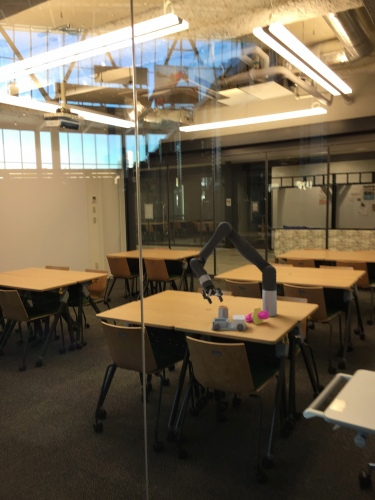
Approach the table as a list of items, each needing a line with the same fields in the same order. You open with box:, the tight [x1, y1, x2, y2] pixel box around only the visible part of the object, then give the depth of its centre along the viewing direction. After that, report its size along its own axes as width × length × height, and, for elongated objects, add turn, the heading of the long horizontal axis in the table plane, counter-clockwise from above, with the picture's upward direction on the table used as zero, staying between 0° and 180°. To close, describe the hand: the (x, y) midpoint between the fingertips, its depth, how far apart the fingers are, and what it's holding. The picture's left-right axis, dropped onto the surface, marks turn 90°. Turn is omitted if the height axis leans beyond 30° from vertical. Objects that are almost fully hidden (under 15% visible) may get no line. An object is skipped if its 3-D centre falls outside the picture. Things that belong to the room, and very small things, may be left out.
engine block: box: [217, 305, 229, 319], centre depth 262 cm, size 4×4×10 cm
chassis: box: [211, 314, 246, 332], centre depth 248 cm, size 20×14×6 cm
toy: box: [245, 307, 270, 325], centre depth 257 cm, size 10×18×10 cm, turn 40°
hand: (216, 302), depth 267 cm, fingers open, 8 cm apart
